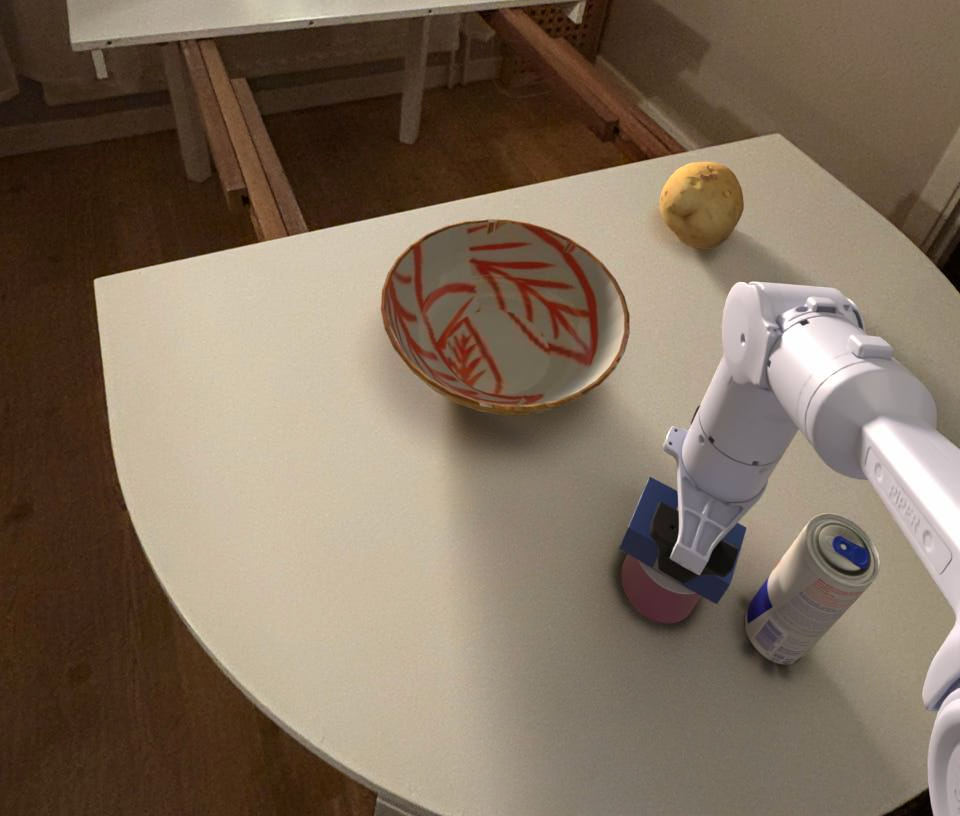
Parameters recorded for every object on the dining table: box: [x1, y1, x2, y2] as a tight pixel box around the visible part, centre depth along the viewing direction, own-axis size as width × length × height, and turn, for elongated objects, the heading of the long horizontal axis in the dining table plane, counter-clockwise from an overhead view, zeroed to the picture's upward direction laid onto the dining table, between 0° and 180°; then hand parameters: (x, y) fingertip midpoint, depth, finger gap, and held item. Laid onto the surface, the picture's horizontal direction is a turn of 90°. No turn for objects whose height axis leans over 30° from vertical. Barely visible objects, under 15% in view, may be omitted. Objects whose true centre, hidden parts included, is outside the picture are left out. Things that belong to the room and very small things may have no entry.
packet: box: [618, 476, 747, 605], centre depth 60 cm, size 8×5×4 cm, turn 61°
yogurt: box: [620, 553, 702, 624], centre depth 63 cm, size 7×7×6 cm
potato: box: [659, 161, 745, 250], centre depth 97 cm, size 10×12×10 cm
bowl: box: [380, 218, 631, 416], centre depth 79 cm, size 25×25×8 cm
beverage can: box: [743, 512, 881, 665], centre depth 58 cm, size 5×5×15 cm
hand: (688, 528), depth 58 cm, fingers open, 7 cm apart
